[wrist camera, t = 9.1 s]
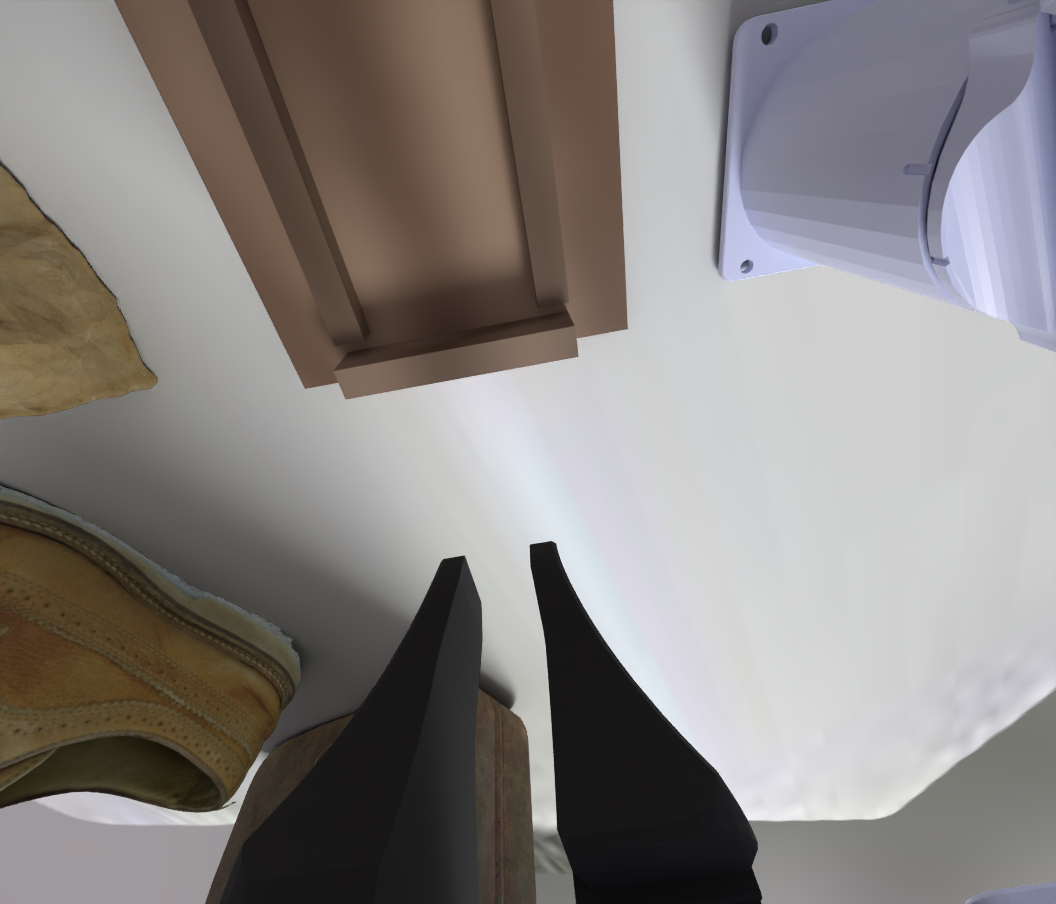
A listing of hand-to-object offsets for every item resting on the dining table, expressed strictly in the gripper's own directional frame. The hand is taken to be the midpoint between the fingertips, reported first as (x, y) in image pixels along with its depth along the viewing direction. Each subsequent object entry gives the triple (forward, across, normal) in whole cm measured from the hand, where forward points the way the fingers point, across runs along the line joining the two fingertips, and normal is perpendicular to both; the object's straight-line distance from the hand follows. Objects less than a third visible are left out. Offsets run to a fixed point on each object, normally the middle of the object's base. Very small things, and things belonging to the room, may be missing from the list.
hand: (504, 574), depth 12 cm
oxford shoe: (+11, +26, +6) cm, 29 cm away
